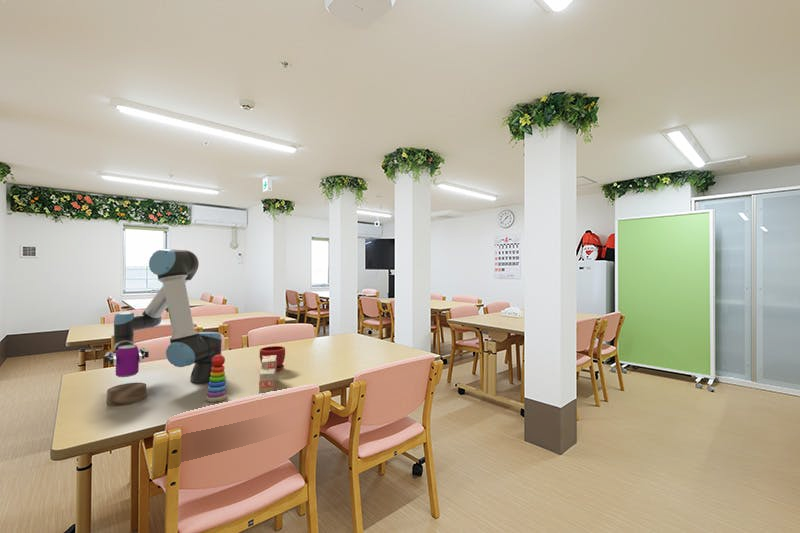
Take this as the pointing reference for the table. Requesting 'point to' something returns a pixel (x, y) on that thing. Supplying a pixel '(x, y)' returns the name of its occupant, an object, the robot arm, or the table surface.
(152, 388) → the table surface
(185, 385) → the table surface
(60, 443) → the table surface
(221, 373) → the stacking toy
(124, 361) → the beverage can
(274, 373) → the stack of blocks
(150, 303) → the robot arm
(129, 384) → the walnut pedestal
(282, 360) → the plant pot
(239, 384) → the table surface
